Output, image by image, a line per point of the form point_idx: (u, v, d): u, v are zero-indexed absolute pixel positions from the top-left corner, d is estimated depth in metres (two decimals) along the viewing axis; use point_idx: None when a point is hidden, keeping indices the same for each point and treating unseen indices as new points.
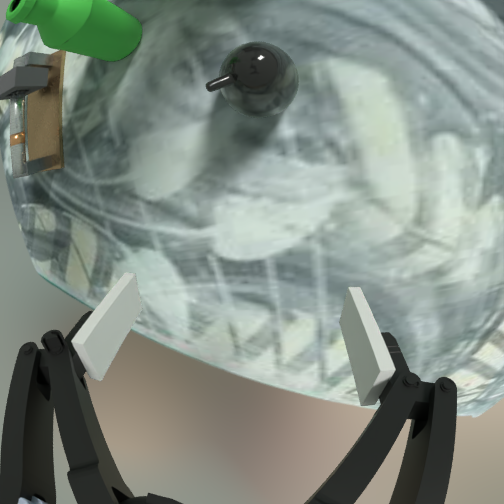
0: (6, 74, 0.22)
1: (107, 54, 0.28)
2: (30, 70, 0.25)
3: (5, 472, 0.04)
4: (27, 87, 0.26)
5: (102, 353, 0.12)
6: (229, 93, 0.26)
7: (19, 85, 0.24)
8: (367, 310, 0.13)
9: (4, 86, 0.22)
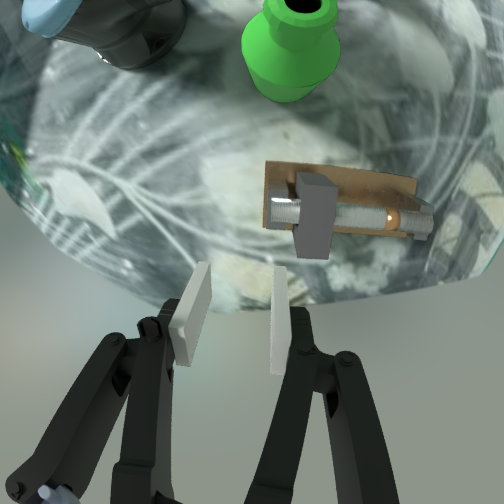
0: (307, 212, 0.29)
1: None
2: (306, 178, 0.30)
3: (39, 454, 0.05)
4: None
5: (192, 338, 0.13)
6: None
7: (334, 185, 0.28)
8: (283, 285, 0.15)
9: (325, 216, 0.29)
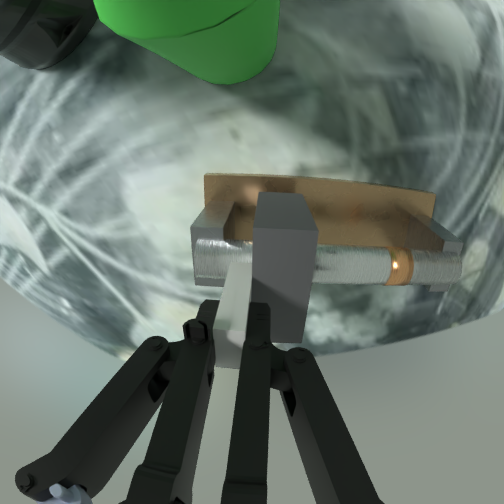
0: (260, 275, 0.16)
1: None
2: (266, 208, 0.18)
3: (57, 451, 0.06)
4: None
5: None
6: None
7: (312, 223, 0.16)
8: (247, 281, 0.16)
9: (293, 282, 0.16)
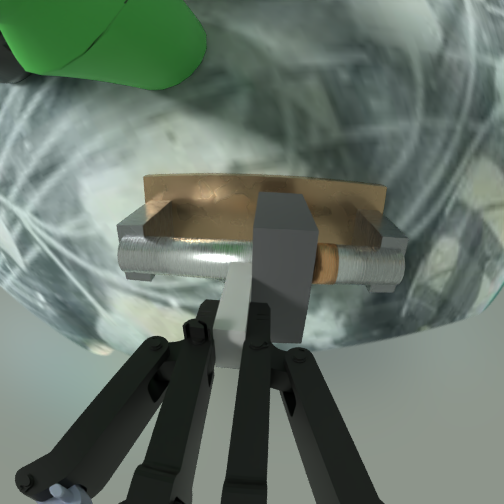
0: (260, 275, 0.16)
1: (193, 20, 0.15)
2: (266, 208, 0.18)
3: (57, 451, 0.06)
4: None
5: None
6: None
7: (313, 223, 0.16)
8: (247, 281, 0.16)
9: (293, 282, 0.16)
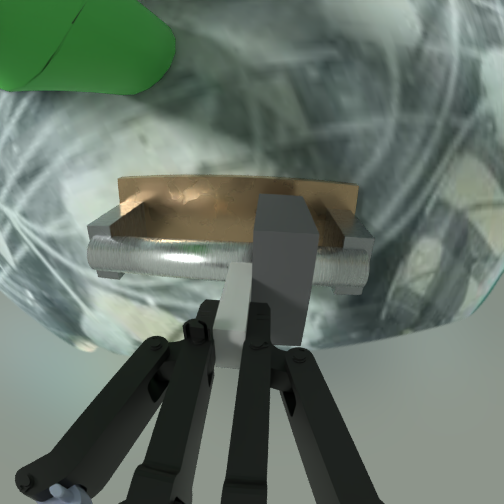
0: (260, 278, 0.16)
1: (157, 26, 0.15)
2: (266, 211, 0.18)
3: (57, 451, 0.06)
4: None
5: None
6: None
7: (313, 226, 0.16)
8: (247, 281, 0.16)
9: (293, 285, 0.16)
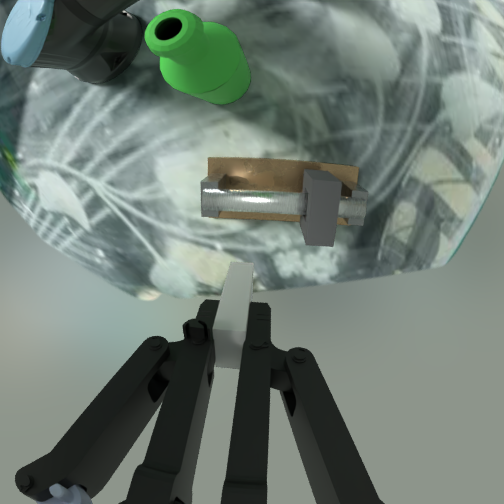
0: (314, 203, 0.32)
1: None
2: (313, 174, 0.34)
3: (57, 451, 0.06)
4: None
5: None
6: None
7: (338, 180, 0.32)
8: (247, 281, 0.16)
9: (330, 208, 0.32)
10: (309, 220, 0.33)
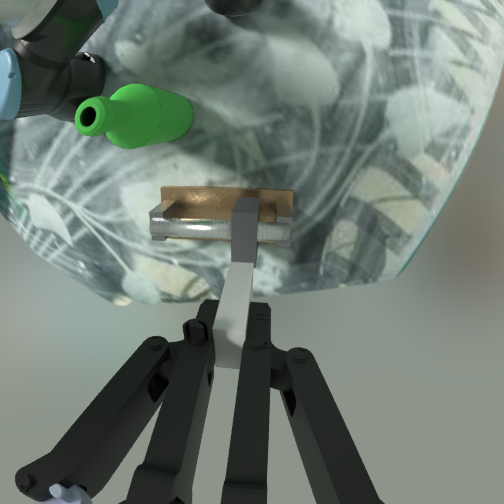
0: (234, 232, 0.39)
1: (185, 109, 0.38)
2: (239, 205, 0.41)
3: (57, 451, 0.06)
4: None
5: None
6: None
7: (257, 210, 0.38)
8: (247, 281, 0.16)
9: (249, 235, 0.39)
10: (232, 246, 0.40)
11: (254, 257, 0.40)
